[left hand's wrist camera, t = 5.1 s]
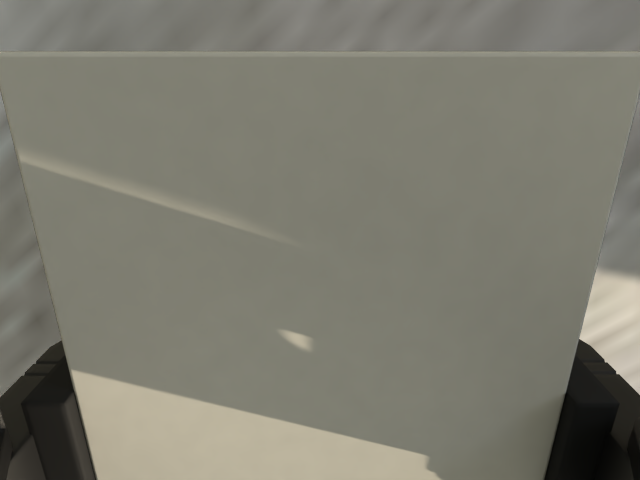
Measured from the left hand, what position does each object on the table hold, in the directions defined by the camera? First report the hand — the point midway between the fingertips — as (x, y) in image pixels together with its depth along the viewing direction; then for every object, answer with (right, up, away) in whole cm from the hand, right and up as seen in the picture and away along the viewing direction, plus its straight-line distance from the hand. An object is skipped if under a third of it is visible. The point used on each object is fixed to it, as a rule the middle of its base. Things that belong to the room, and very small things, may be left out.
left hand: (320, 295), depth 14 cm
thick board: (0, -28, +11) cm, 30 cm away
